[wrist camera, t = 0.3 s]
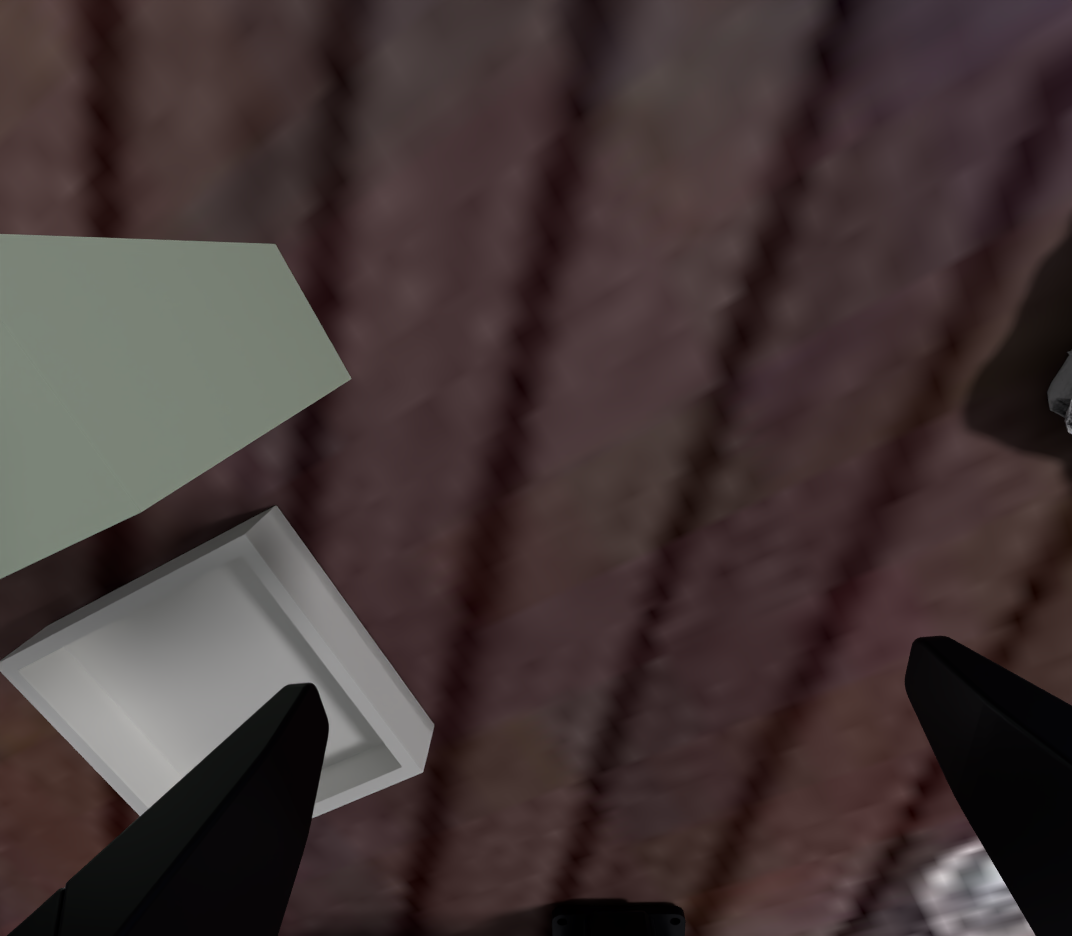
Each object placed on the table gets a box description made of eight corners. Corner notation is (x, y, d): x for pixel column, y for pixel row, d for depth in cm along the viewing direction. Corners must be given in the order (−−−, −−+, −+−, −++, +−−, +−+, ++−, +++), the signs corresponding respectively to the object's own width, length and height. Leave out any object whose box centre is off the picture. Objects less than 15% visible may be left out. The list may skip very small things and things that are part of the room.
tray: (434, 725, 27) (423, 772, 24) (221, 816, 29) (190, 868, 26) (276, 505, 24) (244, 534, 21) (47, 625, 26) (-6, 665, 23)
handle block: (351, 378, 22) (141, 511, 11) (235, 434, 23) (-76, 614, 11) (275, 244, 20) (-63, 231, 9) (154, 308, 21) (-296, 371, 10)
